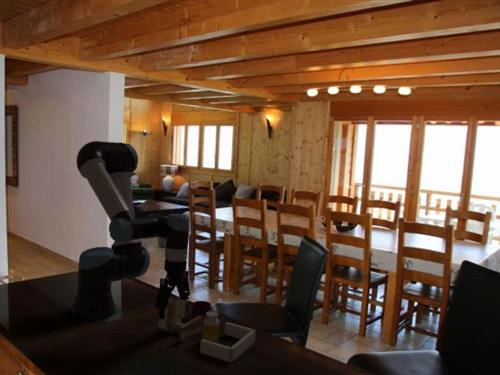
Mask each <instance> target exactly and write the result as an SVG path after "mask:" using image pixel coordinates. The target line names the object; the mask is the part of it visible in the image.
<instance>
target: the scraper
mask: <svg viewBox="0 0 500 375" xmlns="http://www.w3.org/2000/svg"><path fill="white" fill-rule="evenodd" d="M166 309H168V311H167V327H166V328H162V331H164V332H165V331H166V332H169V333H172V334H179V335H178V342H180V343H181V344H182V343H184V342H186V341H188V340H189V339H190V337H191V338H193V337H194V336H195V335H196V334H198V333H200V332H201V331H203V326H202V323H203V316H200V315H199V316H197V317H196V318H194V319H192V318H191V320H189V321H187V322H186V323H183V322H182V318H181V312H182V302H180V301H178V299H177V300H176V299H172V298H170V299H169V302H168V304H167V307H166ZM187 339H188V340H187Z"/></svg>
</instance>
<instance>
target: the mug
mask: <svg viewBox="0 0 500 375" xmlns="http://www.w3.org/2000/svg"><path fill="white" fill-rule="evenodd" d="M189 305H192V308H191V309H192V311H191V312H190V311H189ZM211 310H212V304H211V303H210V302H209V301H208V300H207V301H205V300H197V301H194V302H192V301H188V302H187V303H186V305H185V312H186V313H187V314H188V316H189V317H191V320H192V319H194V318H196V317H197V316H199V315H200V316H203V321H204V319H205V318H206V313H207V312H209V311H211ZM202 325H203V323H202Z"/></svg>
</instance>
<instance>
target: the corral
mask: <svg viewBox="0 0 500 375" xmlns="http://www.w3.org/2000/svg"><path fill="white" fill-rule="evenodd" d="M224 335H225V336H229V337H233V338H237V339H239V340H238V341H237V342H236V343H234V344H233V345H232V346H227V345H224V344H222V343H218V342H217V343H214V342H211V341H208V340H204V339H202V338H201V339H200V345H199V346H200V347H199V354H203V355H206V356H209V357H213V358H215V359H219V360H222V361H225V362H228V363H230V364H231V363H233V362H234V361H236V359H238V357H240V356H241V355H242V354H243V353H244V352H246V351H247V350H248V349H249V348H250V347H251V346H252V345H253V344H254V343H255V342H256V341H257V340H256V337H257V329H254V328H251V327H250V328H249V327H246V326H243V325H239V324H236V323H231V322H228V321H227V322H225V326H224Z"/></svg>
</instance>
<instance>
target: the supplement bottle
mask: <svg viewBox="0 0 500 375" xmlns="http://www.w3.org/2000/svg"><path fill="white" fill-rule="evenodd" d="M218 317H219V313H218V312H217V311H209V312H207V313H206V318H205V319H204V321H203V326H202V330H201V331H202V332H201V340H202V339H204V340H208V341H211V342H214V343H218V342H219V333H220V320H219V318H218Z"/></svg>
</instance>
